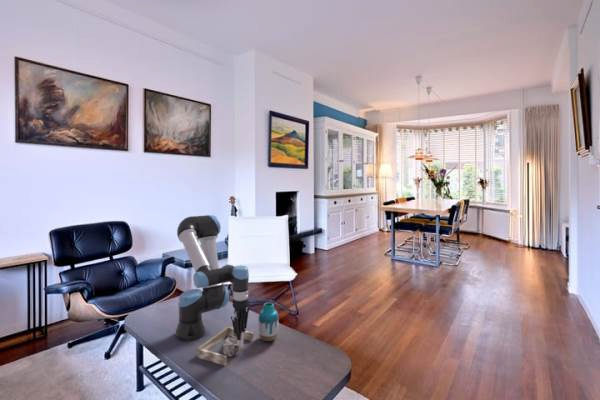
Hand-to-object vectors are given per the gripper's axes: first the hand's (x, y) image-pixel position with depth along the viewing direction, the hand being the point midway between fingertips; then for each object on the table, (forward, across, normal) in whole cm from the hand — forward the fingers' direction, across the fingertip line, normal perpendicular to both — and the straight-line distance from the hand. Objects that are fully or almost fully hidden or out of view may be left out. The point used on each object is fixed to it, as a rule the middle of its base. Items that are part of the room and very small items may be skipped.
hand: (240, 345), depth 147 cm
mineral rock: (+4, 0, +5) cm, 6 cm away
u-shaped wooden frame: (+3, 0, +8) cm, 9 cm away
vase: (+4, +16, -7) cm, 18 cm away
